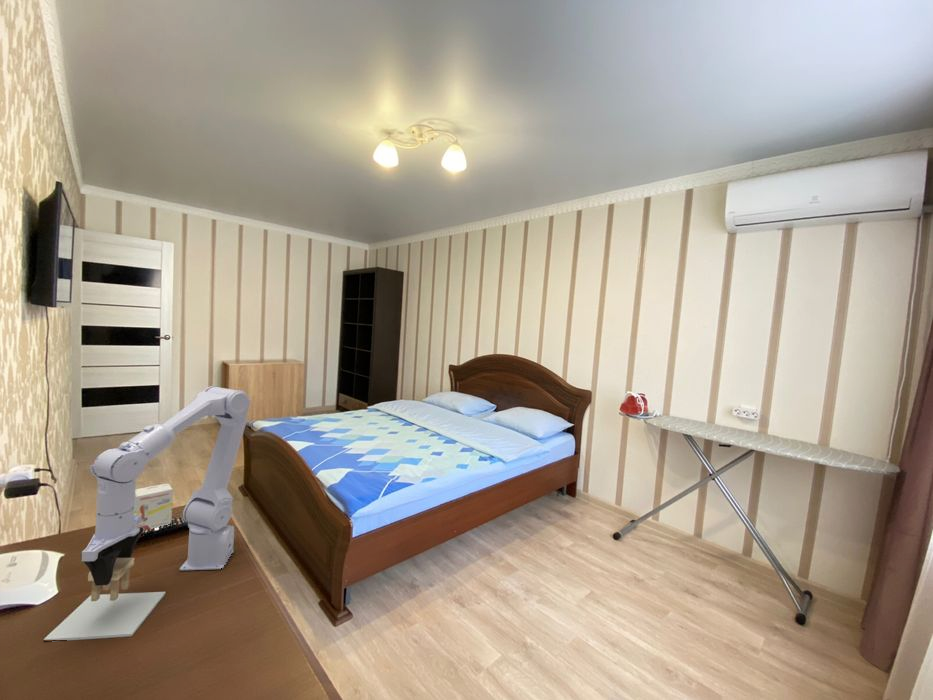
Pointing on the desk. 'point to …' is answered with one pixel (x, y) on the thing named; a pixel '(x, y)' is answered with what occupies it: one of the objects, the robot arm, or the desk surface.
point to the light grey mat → (107, 617)
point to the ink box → (154, 506)
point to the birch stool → (114, 579)
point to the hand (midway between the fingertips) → (112, 575)
